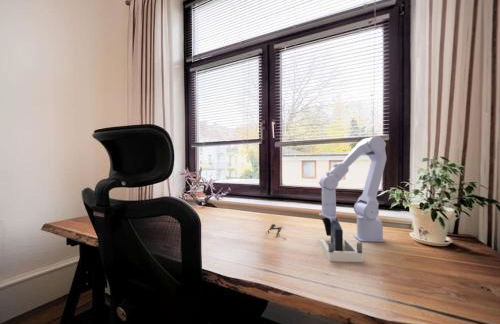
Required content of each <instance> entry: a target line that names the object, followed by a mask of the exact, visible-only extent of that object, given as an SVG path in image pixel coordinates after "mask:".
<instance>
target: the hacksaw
mask: <svg viewBox="0 0 500 324" xmlns="http://www.w3.org/2000/svg"><path fill="white" fill-rule="evenodd" d="M274 226H275V227H274ZM278 228H279V229H278ZM269 230H271V231H272V230H277V232H276V236H274V239H275V238H276V239H278V238H281V239H283V240H284V241H286V239H287V238H286V237H281V235H280V233H281V230H282V227H281V226H279V227H276V224H274V223H273V224H271V225H270V227H269V229H268V230H267V232H268V234H269V233H270V232H269ZM267 232H266V234H267ZM279 232H280V233H279ZM278 235H279V236H278ZM277 237H278V238H277Z"/></svg>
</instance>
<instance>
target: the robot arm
mask: <svg viewBox="0 0 500 324" xmlns="http://www.w3.org/2000/svg"><path fill="white" fill-rule="evenodd" d="M386 145H387V142H386V141H385V140H384V138H382V137H381V136H379V135H375V136H372V137H368V138H363V139H361V140H360V141H359V142H357V143H356V144H355V147H354V148H353V149H352V150H351V151H350V152H349V153H348V155H346V157H345V158H344V159H343V160H342V162H337V163H334V164H332V165H333V166H332V168H331V169H330V170H329V171H327V172H326V173H325V174H326V175H324V176H322V177H321V178H320V181H318V183H319V186H320V187H321V213H320V212H319V213H318V214H319V216H320V217H322V218H321V221H322V224H323V225H324V228H325V234H326V236H327V237H328V236H329V237H331V222H332V220H333V221H336V218H337V197H336V196H337V195H336V188H337V187H338V186H339V182H340V181H341V180H342V179H343V178H344V177H345V175H347V174H348V172H349V171H350V170H349V168H350V166H351V165H352V164H353V163H354V162H356V160H358V159H359V158H360V157H361V156H362V155H363V154H365V156H367V157H368V158H369V159H370V160H371V162H370V165H369V169H368V172H367V176H366V179H365V182H364V187H363V190H362V194H361V195H360V196H359V197H358V198H357V201H356V202H355V203H354V206H353V211H354V213H355V214H356V234H354V235H353V236H354V237H355V238H356V239H357V240H358V242H375V243H376V242H377V243H378V242H379V243H380V242H381V243H384V242H385V240H384V231H383V229H384V228H383V226H384V225H383V222H382V220H381V219H380V218H378V216H379V212H380V210H379V205H380V203H379V201H378V199H377V196H378V193H379V188H380V186H381V181H382V177H383V174H384V170H385V166H386V163H387V153H386Z"/></svg>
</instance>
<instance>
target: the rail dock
mask: <svg viewBox="0 0 500 324" xmlns="http://www.w3.org/2000/svg"><path fill="white" fill-rule="evenodd" d="M327 243H328V244H327ZM320 247H321V249H322V250H323V252H324V255H326V257H327V259H328V261H329V262H341V263H343V262H344V263H349V262H350V263H363V242H361V241H358V242H356V247H355V246H354V244H352V243H351V241H350V240H348V239H344V247H345V249H347V250H343V251H334V249H333V242H331V241H327V242H326V241H325V239H320Z"/></svg>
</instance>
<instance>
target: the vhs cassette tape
mask: <svg viewBox="0 0 500 324" xmlns="http://www.w3.org/2000/svg"><path fill="white" fill-rule="evenodd" d="M343 234H344V232H343V228H342V226H341V224H340V222H339V220H338V219H337V217H336V221H333V220H332V222H331V236H330V242H333V249H334V251H344V250H343V248H344V246H343V243H344V242H343V241H344V238H343V236H344V235H343Z"/></svg>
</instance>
